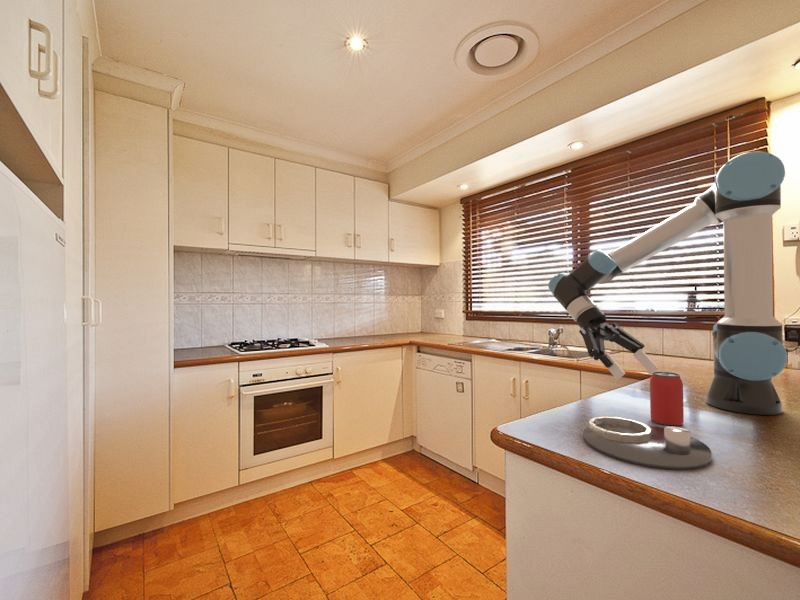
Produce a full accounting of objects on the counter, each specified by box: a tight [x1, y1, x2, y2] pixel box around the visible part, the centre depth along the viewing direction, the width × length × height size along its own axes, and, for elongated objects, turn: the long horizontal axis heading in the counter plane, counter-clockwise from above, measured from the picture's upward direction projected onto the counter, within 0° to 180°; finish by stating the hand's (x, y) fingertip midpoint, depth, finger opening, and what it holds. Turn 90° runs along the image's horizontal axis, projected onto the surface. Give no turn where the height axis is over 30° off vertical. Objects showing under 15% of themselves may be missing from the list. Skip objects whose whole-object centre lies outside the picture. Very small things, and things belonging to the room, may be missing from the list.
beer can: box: [649, 371, 685, 427], centre depth 89 cm, size 7×7×12 cm
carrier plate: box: [583, 416, 713, 471], centre depth 76 cm, size 22×22×5 cm
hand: (638, 373), depth 95 cm, fingers open, 13 cm apart
